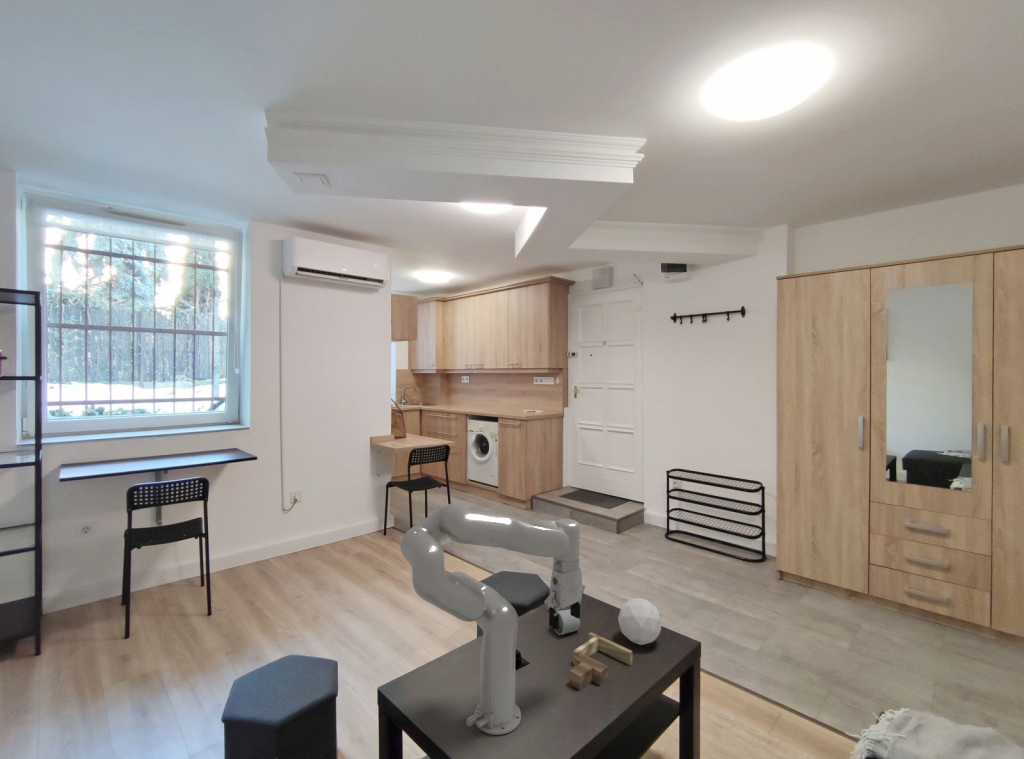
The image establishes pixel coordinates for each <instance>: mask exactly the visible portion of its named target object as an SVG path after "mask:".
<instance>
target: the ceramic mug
mask: <svg viewBox="0 0 1024 759" xmlns="http://www.w3.org/2000/svg"><path fill="white" fill-rule="evenodd" d="M570 609H571V608H570ZM570 609H563V610H559V612H558V615H559V629H558V630H556V629H554V631H555V633H556V634H558V636H562V635H566V634H569V633H572V632H576V631H577V630H579V629H580V627H581V623H582V622H581V617H580V618H579V619H578V618H576V617H574V616H571V615H570Z"/></svg>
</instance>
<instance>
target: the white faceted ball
mask: <svg viewBox="0 0 1024 759" xmlns="http://www.w3.org/2000/svg"><path fill="white" fill-rule="evenodd" d="M620 607H621V608H620V610H619V614H618V617H617V620H618V625H619V628H620V631H621V633H622V634H623V635H624V636H625V637H626V638H627V640H628V639H629V640H630V642H632V643H634V644H637V645H639V646H642V645H647V644H651V643H654V642H655V640H656V639H657V638H658V637H659V636H660V634H661V630H662V625H663V622H662V618H661V615H660V613H659V609H658V608H657V607H656V606H655V605H653V603H651V602H650V601H648V599H645V598H641V597H636V598H631V599H628V601H626V602H625V603H624V604H622V605H621V606H620Z"/></svg>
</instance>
